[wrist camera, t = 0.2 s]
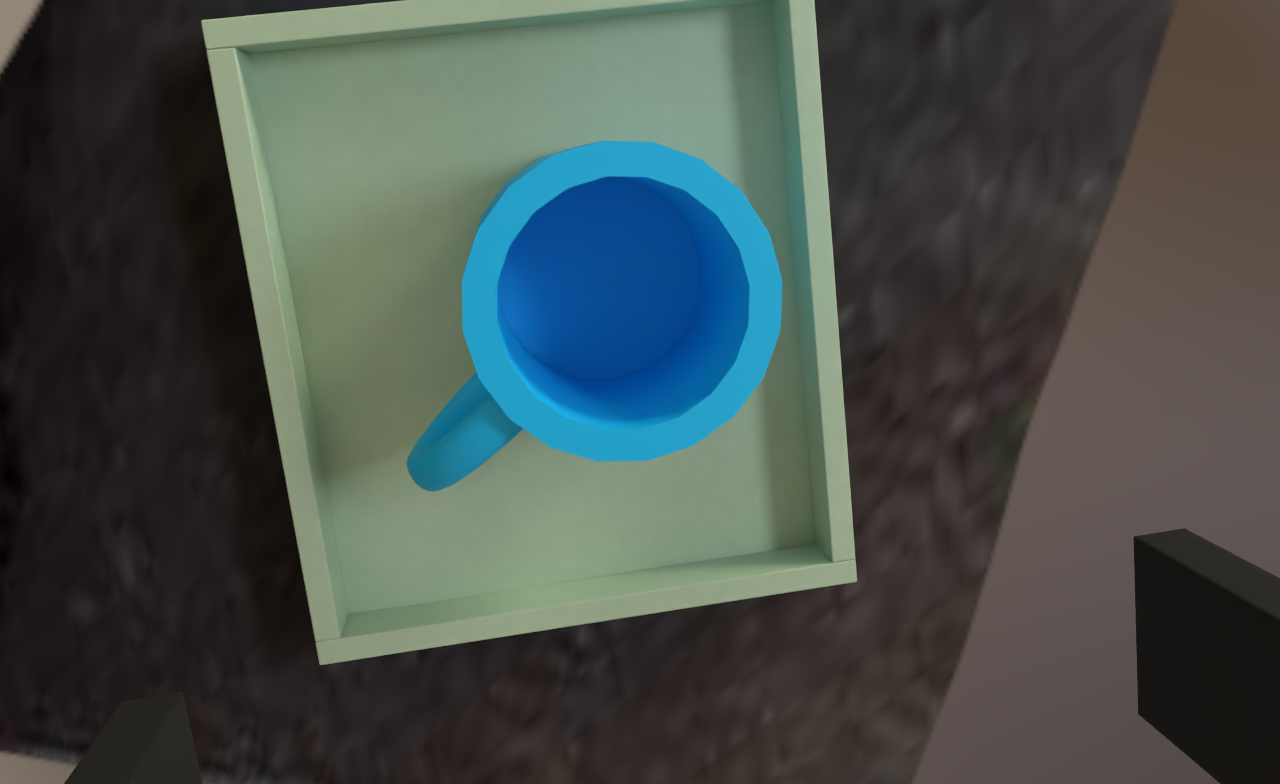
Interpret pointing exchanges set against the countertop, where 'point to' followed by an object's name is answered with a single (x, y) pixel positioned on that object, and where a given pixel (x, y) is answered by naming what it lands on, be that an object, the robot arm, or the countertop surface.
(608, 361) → the mug
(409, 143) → the tray
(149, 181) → the countertop surface
